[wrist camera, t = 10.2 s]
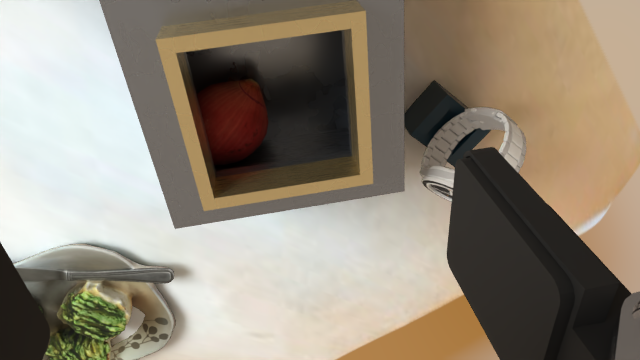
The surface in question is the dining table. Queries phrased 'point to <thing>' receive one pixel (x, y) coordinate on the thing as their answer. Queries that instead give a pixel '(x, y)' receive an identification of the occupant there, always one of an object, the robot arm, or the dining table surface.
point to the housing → (268, 99)
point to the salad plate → (97, 302)
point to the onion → (233, 119)
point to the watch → (456, 135)
